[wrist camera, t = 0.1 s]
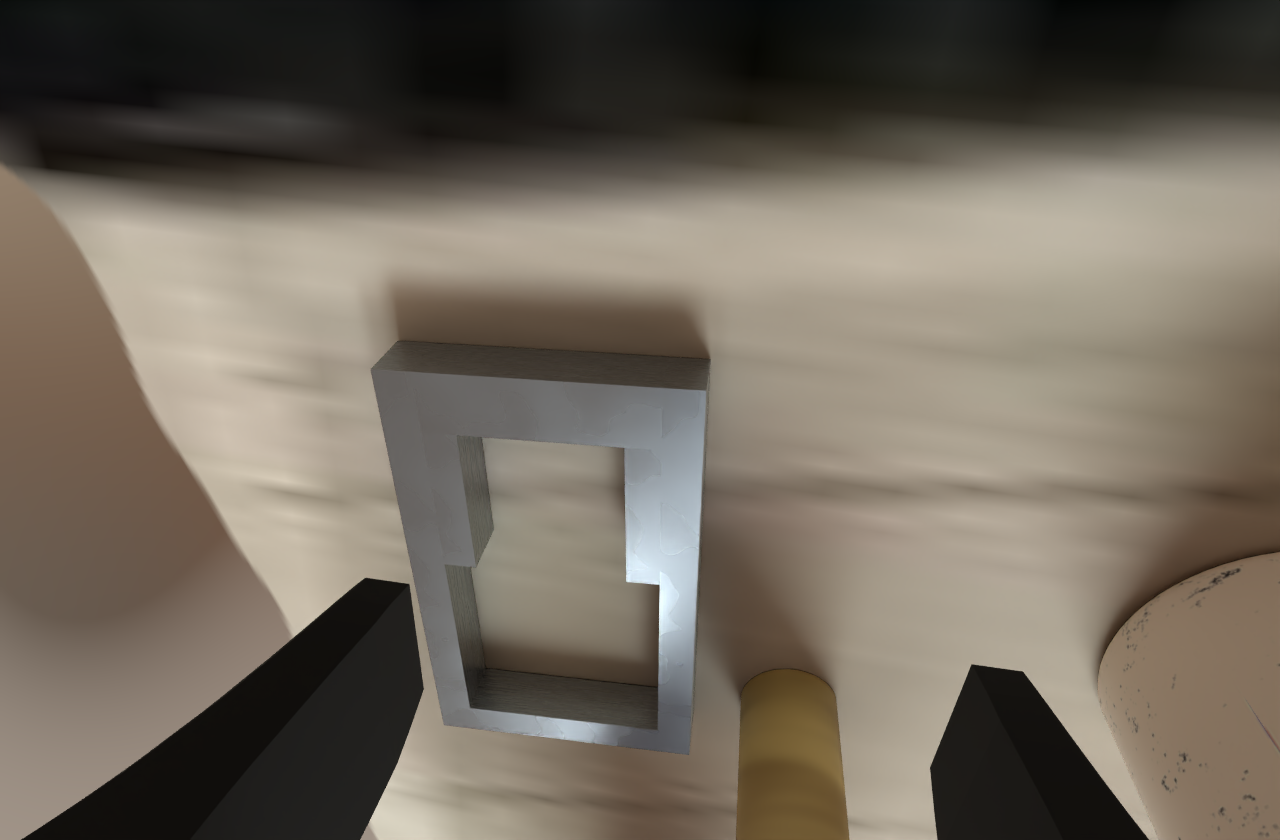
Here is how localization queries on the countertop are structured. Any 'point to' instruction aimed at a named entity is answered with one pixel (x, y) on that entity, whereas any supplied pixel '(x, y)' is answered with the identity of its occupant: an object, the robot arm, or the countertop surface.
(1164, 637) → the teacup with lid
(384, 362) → the keyhole plate
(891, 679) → the countertop surface
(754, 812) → the peg
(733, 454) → the countertop surface
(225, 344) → the countertop surface
